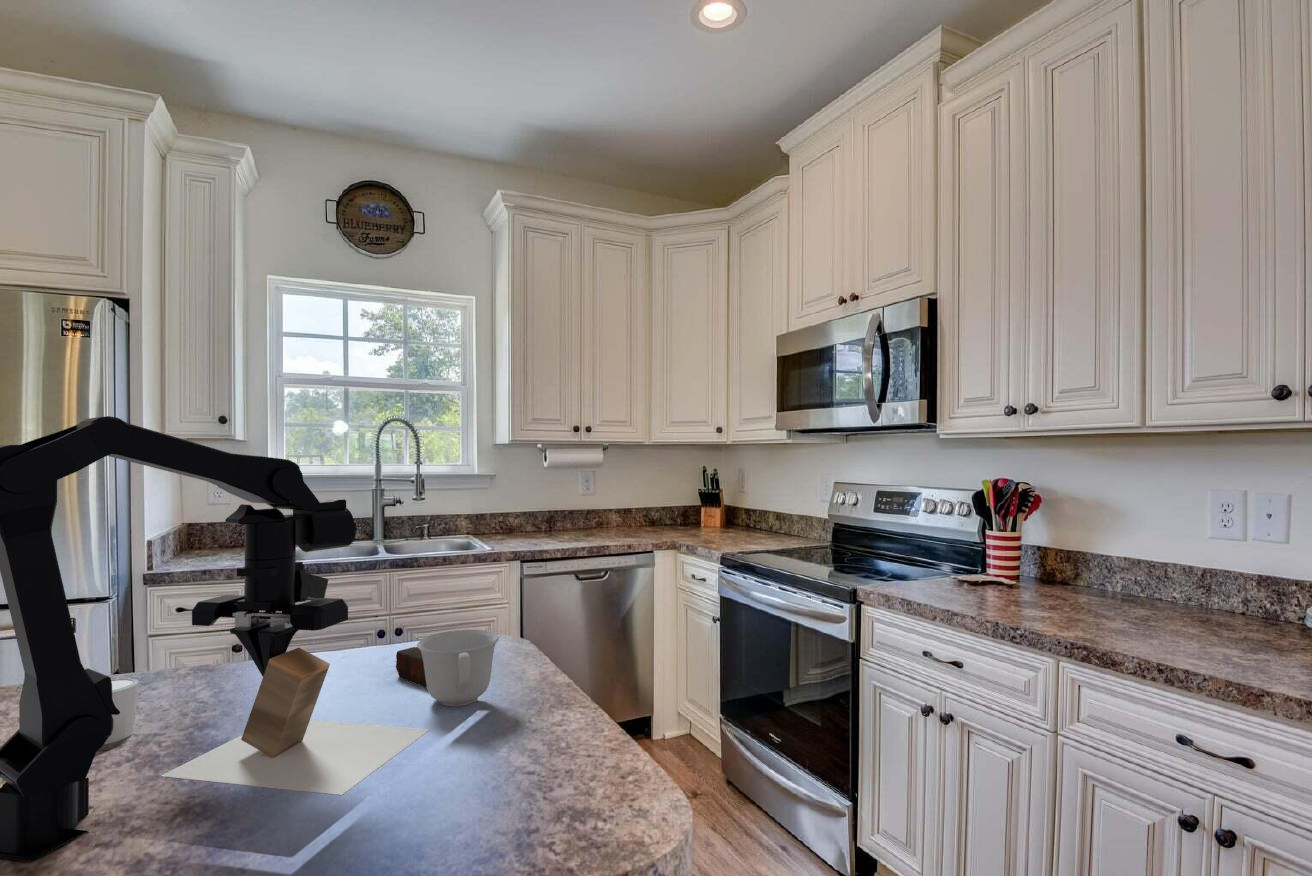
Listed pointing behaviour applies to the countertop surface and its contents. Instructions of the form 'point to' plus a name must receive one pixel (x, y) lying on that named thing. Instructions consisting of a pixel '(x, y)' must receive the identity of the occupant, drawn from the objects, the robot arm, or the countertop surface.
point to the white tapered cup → (123, 708)
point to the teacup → (458, 664)
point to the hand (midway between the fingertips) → (270, 679)
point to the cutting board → (305, 759)
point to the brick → (411, 665)
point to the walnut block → (285, 701)
